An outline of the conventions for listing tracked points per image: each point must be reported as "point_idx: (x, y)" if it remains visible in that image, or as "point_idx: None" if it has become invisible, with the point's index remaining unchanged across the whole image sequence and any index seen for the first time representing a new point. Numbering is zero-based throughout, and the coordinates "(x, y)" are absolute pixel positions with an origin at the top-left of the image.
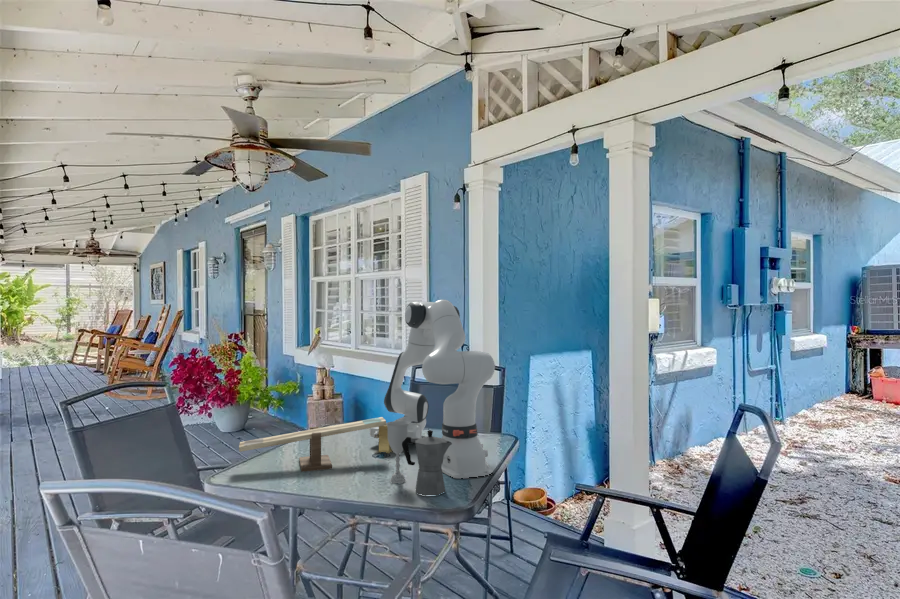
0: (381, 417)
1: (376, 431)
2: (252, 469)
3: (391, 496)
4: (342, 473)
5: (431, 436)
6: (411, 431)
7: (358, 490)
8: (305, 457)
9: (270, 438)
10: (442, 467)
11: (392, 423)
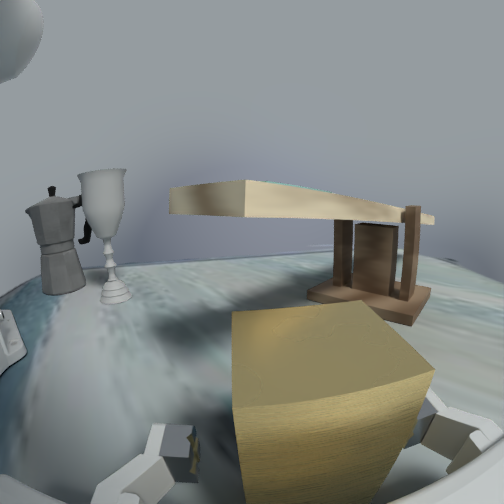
0: (242, 181)
1: (476, 421)
2: (418, 265)
3: (120, 274)
4: (258, 294)
5: (50, 196)
6: (15, 483)
7: (176, 273)
8: (421, 291)
9: None
10: (11, 330)
11: (113, 173)
